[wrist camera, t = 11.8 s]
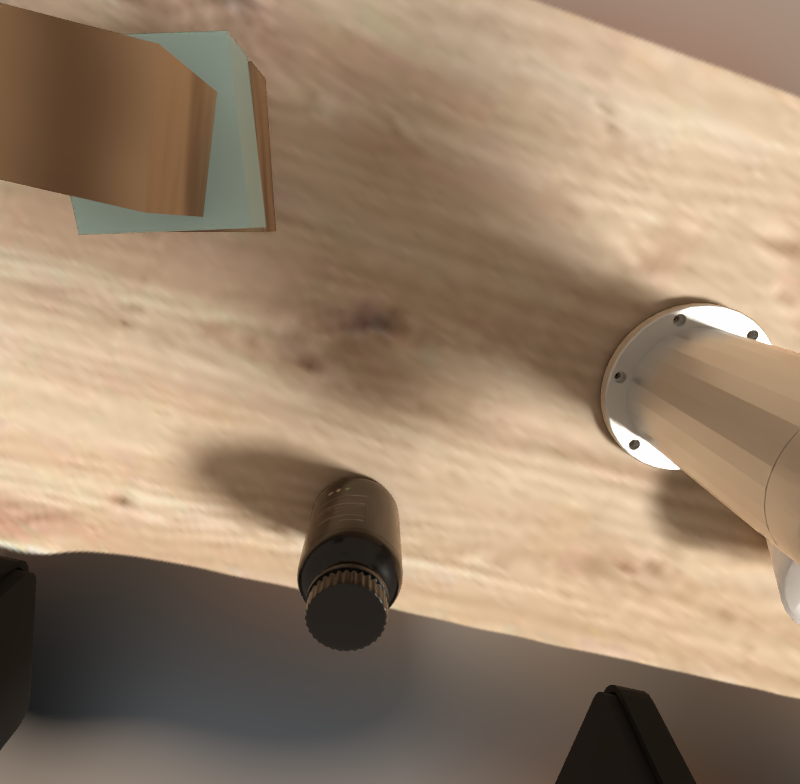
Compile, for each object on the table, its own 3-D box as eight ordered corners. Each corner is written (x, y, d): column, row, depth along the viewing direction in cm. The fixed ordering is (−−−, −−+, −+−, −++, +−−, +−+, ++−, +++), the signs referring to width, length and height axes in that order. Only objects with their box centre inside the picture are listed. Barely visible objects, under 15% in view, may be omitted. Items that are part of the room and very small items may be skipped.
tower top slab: (247, 56, 29) (226, 30, 25) (266, 227, 32) (250, 227, 28) (82, 62, 29) (36, 37, 25) (115, 233, 32) (78, 234, 28)
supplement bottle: (411, 534, 42) (421, 648, 31) (332, 560, 43) (313, 681, 32) (381, 461, 40) (381, 554, 29) (299, 489, 41) (266, 591, 30)
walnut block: (217, 91, 26) (158, 43, 19) (203, 217, 28) (144, 212, 21) (92, 60, 25) (-13, -1, 19) (85, 189, 27) (-13, 176, 20)
